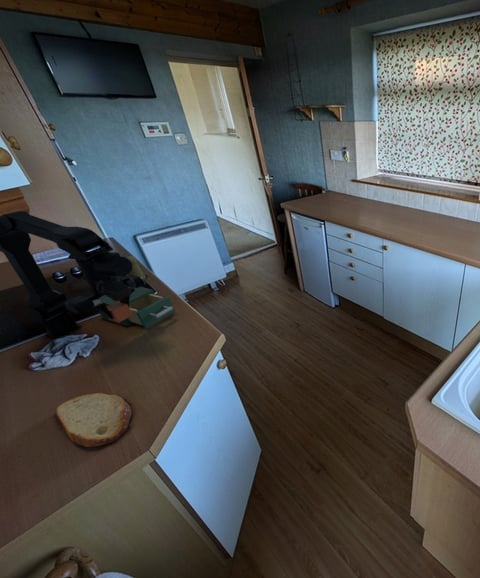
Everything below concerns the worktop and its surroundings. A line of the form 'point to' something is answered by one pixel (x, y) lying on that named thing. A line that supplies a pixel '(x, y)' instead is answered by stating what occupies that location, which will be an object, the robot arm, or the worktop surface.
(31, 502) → the worktop surface
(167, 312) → the drawer
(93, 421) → the bread slice
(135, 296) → the cabinet
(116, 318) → the block
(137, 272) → the cork
